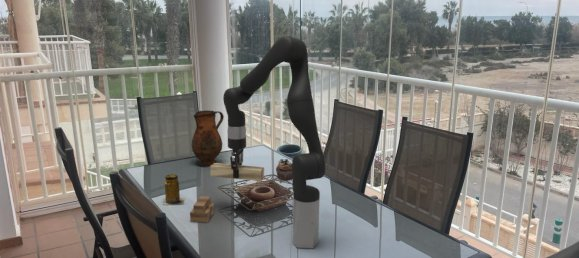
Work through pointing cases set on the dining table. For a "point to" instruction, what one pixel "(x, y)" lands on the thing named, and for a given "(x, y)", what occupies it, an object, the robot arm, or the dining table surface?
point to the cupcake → (284, 170)
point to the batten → (244, 172)
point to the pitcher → (207, 137)
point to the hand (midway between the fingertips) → (237, 175)
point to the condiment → (172, 190)
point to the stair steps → (202, 210)
